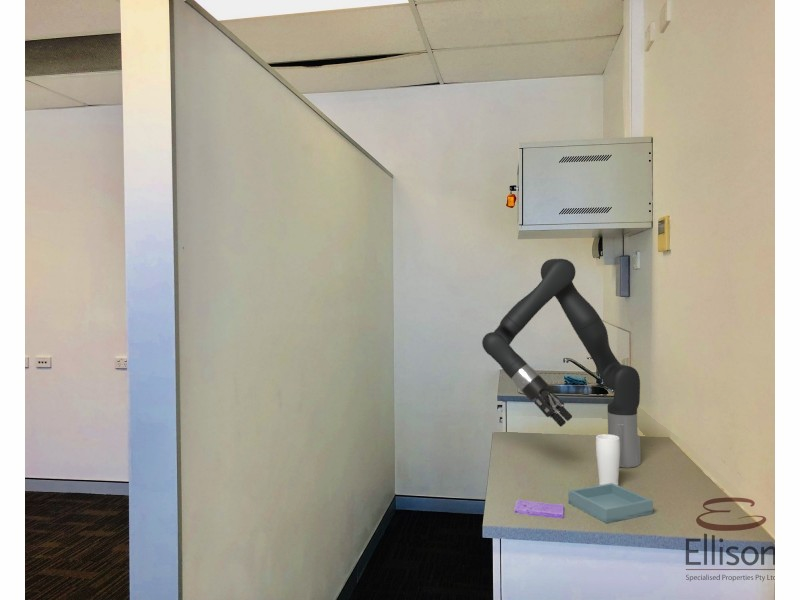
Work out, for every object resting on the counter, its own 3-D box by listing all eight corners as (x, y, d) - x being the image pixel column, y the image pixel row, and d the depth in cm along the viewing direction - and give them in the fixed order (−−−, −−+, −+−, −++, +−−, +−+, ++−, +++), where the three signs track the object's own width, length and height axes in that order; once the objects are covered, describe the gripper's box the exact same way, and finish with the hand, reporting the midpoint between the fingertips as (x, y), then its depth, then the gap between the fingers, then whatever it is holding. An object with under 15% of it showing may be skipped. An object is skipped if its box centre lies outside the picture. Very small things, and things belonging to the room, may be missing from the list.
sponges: (517, 506, 155) (517, 499, 155) (564, 510, 151) (564, 503, 151) (514, 515, 149) (513, 508, 149) (563, 520, 145) (563, 513, 145)
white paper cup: (609, 492, 162) (608, 441, 162) (591, 486, 168) (590, 436, 168) (626, 488, 165) (625, 437, 165) (607, 482, 171) (606, 433, 171)
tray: (612, 495, 160) (612, 482, 160) (652, 513, 146) (652, 500, 146) (568, 503, 155) (568, 490, 155) (606, 523, 141) (606, 509, 141)
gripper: (531, 377, 170) (570, 418, 165) (543, 371, 183) (580, 409, 177) (514, 393, 173) (552, 434, 167) (528, 386, 185) (563, 424, 180)
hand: (566, 421), depth 172 cm, fingers open, 8 cm apart
